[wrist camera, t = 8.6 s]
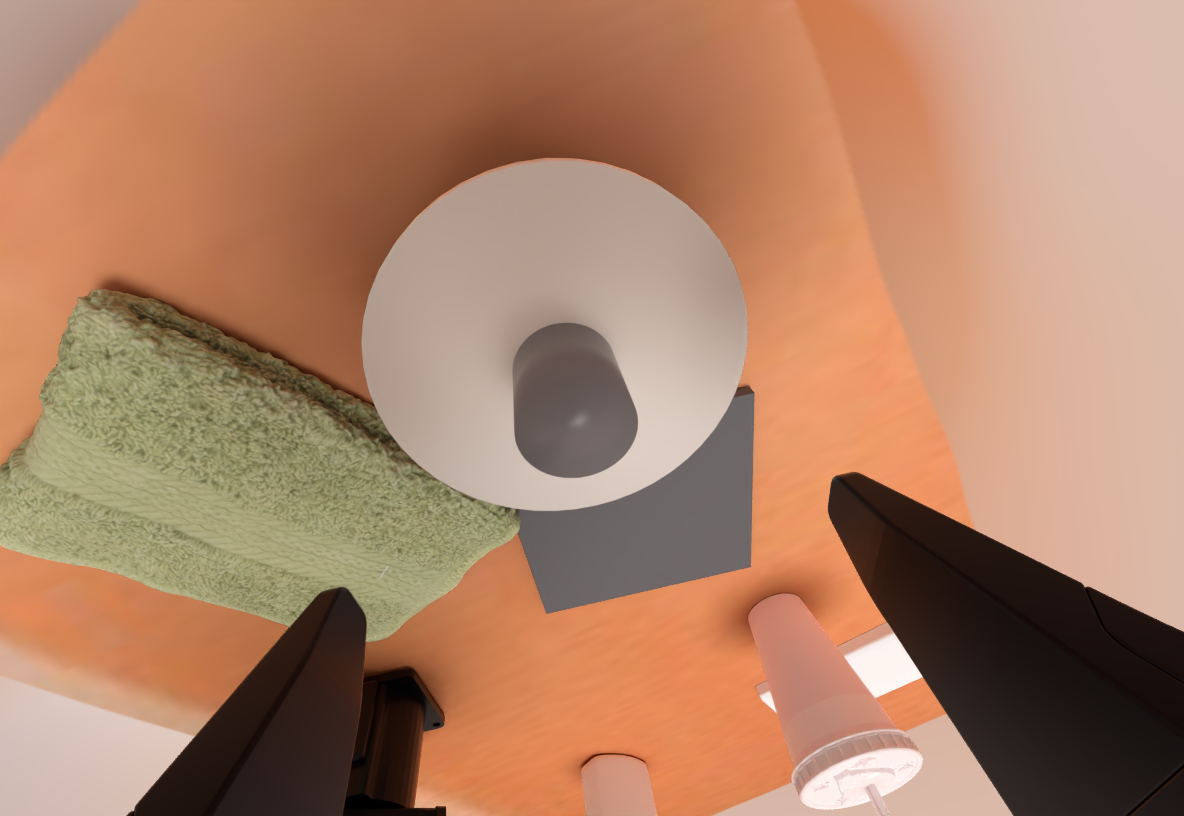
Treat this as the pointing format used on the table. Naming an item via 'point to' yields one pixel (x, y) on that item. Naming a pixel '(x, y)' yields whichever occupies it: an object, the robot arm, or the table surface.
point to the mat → (652, 525)
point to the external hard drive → (871, 663)
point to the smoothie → (828, 713)
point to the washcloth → (230, 476)
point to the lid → (554, 335)
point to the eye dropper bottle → (617, 787)
